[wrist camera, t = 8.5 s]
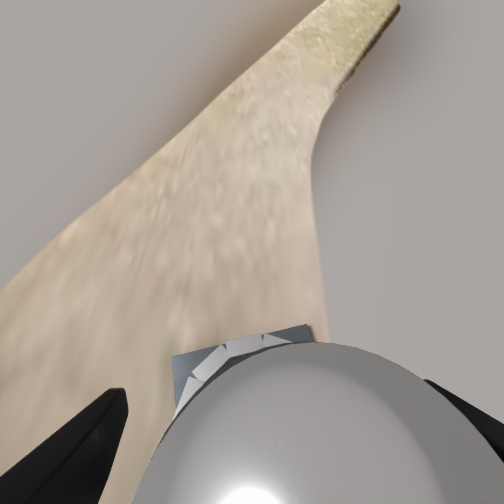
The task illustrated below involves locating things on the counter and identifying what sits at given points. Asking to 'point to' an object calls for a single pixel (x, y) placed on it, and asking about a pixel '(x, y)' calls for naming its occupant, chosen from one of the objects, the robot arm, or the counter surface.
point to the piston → (320, 436)
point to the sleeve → (223, 359)
